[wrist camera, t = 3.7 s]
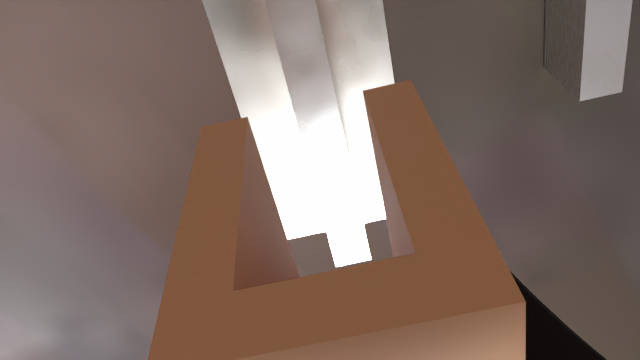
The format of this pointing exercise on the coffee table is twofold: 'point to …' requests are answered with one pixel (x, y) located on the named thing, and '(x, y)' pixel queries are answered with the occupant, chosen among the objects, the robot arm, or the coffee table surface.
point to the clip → (343, 284)
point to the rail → (310, 107)
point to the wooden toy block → (587, 45)
